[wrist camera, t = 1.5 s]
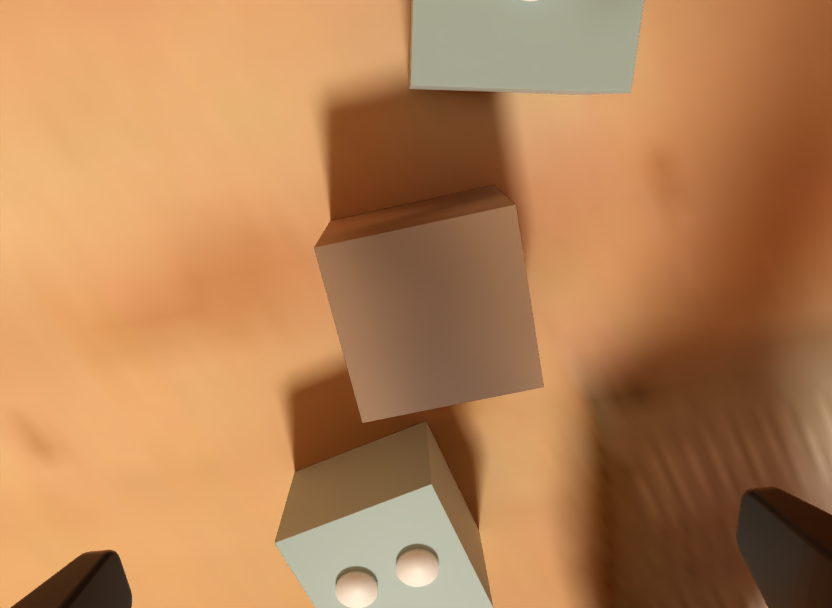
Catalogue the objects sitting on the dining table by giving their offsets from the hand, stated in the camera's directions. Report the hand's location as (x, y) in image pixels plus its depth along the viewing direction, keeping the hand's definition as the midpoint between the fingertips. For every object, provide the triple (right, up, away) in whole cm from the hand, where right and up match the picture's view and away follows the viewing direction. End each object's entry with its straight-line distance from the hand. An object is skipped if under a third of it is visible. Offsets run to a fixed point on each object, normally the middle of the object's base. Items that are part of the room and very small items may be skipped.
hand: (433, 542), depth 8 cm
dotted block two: (-1, -4, +15) cm, 15 cm away
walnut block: (0, +4, +12) cm, 13 cm away
